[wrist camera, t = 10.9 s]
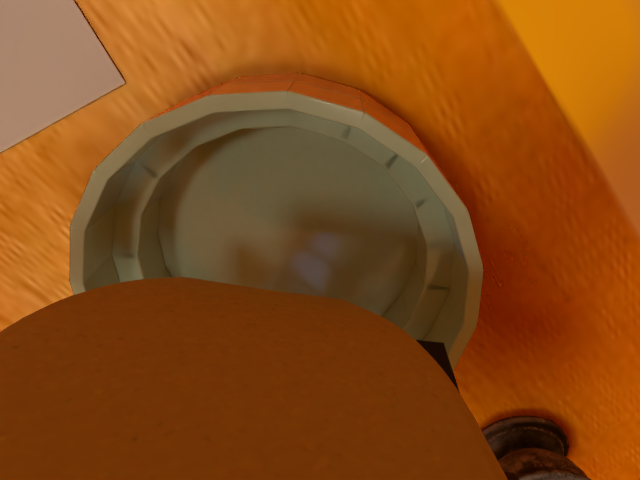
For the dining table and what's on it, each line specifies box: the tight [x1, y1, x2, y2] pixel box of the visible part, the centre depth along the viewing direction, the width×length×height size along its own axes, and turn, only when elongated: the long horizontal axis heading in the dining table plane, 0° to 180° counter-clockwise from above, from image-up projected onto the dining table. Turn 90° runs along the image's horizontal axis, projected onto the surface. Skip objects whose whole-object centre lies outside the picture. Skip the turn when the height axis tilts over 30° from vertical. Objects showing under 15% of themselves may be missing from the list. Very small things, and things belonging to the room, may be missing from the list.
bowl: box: [69, 73, 484, 371], centre depth 18 cm, size 14×14×5 cm
